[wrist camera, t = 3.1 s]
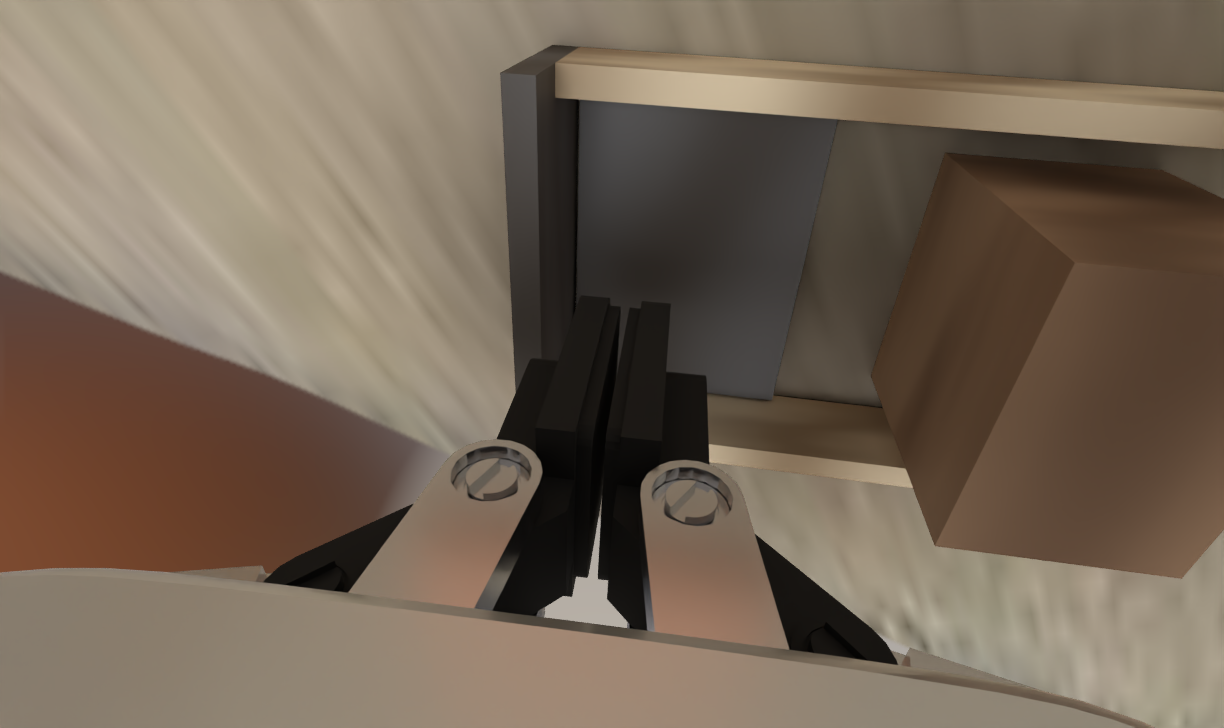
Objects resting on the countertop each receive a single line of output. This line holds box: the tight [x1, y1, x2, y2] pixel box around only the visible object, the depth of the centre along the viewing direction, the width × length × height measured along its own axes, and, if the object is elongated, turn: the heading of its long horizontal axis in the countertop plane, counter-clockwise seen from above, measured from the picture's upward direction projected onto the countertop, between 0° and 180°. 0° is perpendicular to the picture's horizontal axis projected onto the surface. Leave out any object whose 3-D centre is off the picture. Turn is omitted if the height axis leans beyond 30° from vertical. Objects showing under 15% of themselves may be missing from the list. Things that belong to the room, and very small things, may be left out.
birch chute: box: [500, 45, 1224, 488], centre depth 14 cm, size 15×9×4 cm, turn 87°
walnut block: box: [871, 153, 1224, 579], centre depth 13 cm, size 4×6×6 cm
